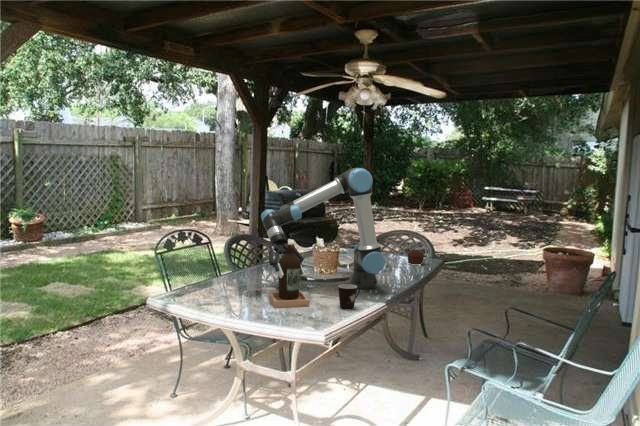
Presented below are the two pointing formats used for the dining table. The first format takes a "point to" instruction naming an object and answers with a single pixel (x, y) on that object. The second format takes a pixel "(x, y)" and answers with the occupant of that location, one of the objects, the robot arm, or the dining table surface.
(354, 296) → the coffee mug
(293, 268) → the olive oil
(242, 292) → the dining table surface
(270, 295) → the bin
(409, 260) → the muffin
